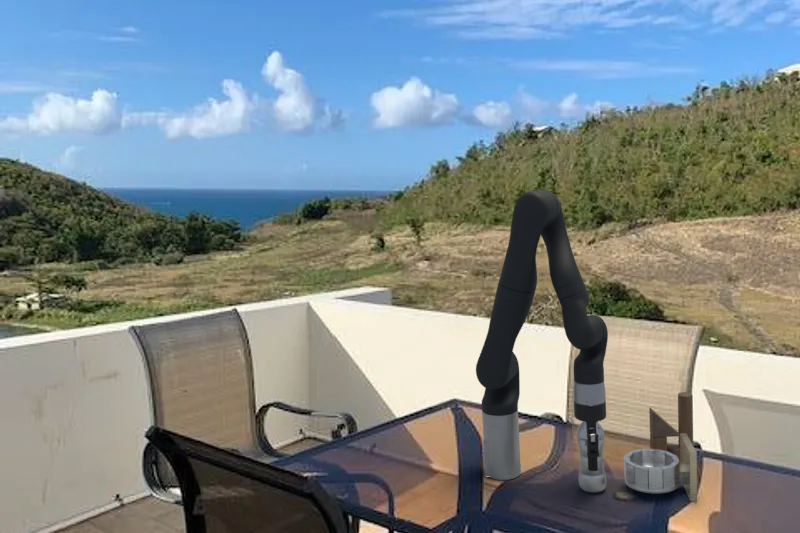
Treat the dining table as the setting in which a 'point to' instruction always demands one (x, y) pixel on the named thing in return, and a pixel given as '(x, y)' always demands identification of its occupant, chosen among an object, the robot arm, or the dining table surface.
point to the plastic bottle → (587, 479)
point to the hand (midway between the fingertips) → (591, 464)
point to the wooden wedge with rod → (664, 430)
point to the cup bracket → (662, 469)
